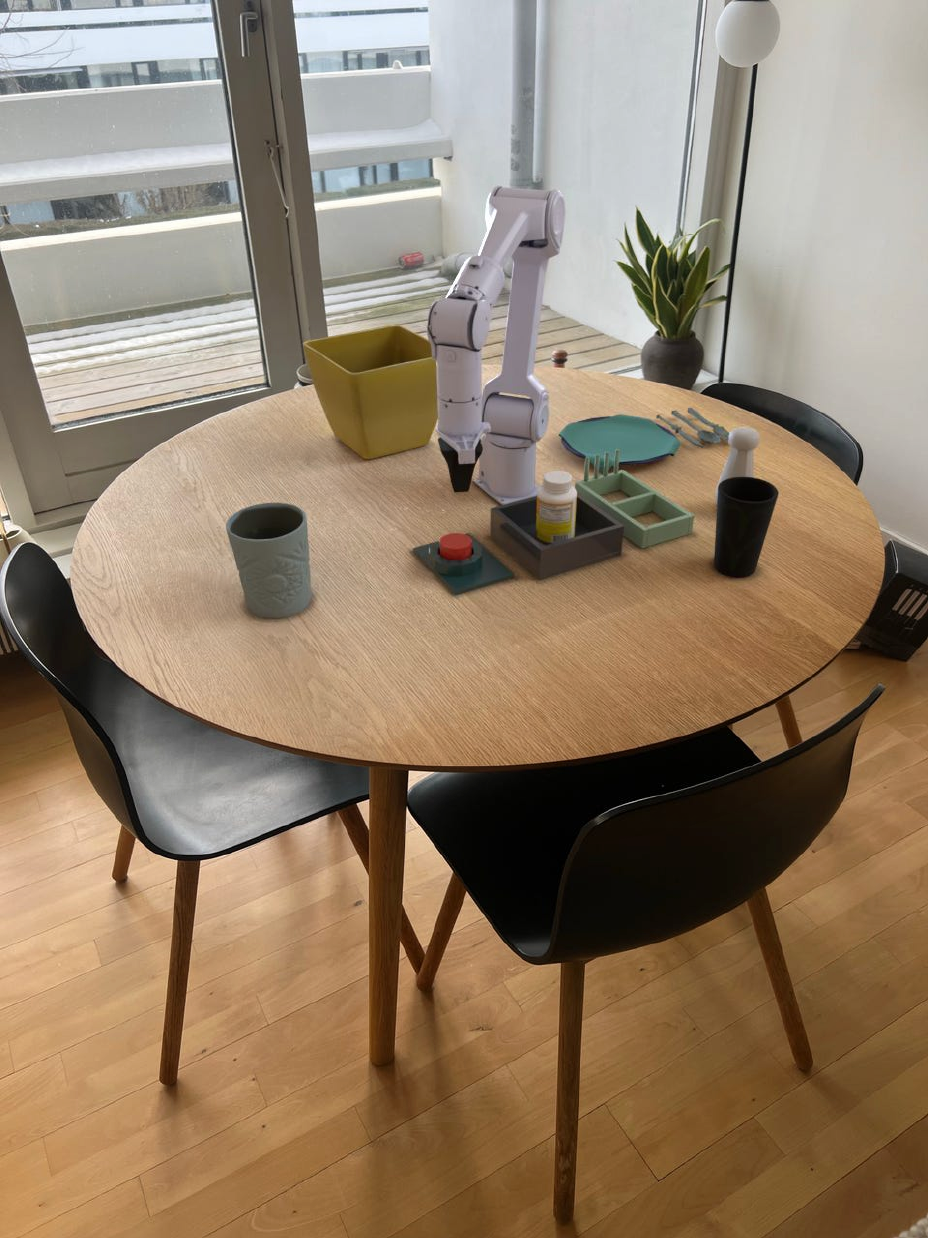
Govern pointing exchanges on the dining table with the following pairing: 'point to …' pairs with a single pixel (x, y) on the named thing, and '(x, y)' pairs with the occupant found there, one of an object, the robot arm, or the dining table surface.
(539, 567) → the dark grey storage bin
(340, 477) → the dining table surface
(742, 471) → the salt shaker
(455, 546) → the tap button
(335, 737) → the dining table surface
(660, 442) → the cutlery set
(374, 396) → the flower pot
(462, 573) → the block
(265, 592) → the grey embossed vase
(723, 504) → the cup
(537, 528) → the supplement bottle
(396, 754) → the dining table surface
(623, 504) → the dish rack
